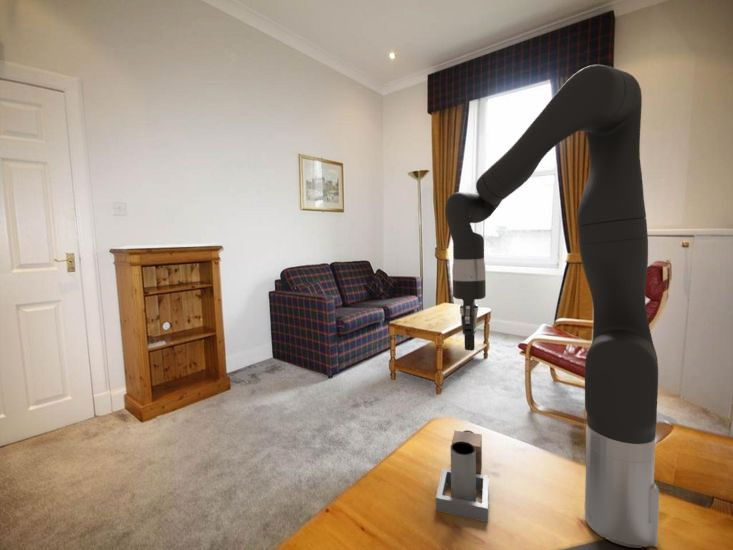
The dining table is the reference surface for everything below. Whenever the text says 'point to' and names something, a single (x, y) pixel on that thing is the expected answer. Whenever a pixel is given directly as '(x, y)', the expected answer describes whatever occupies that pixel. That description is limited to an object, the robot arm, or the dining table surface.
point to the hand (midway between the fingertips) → (469, 349)
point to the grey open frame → (460, 505)
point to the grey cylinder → (463, 471)
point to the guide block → (475, 441)
